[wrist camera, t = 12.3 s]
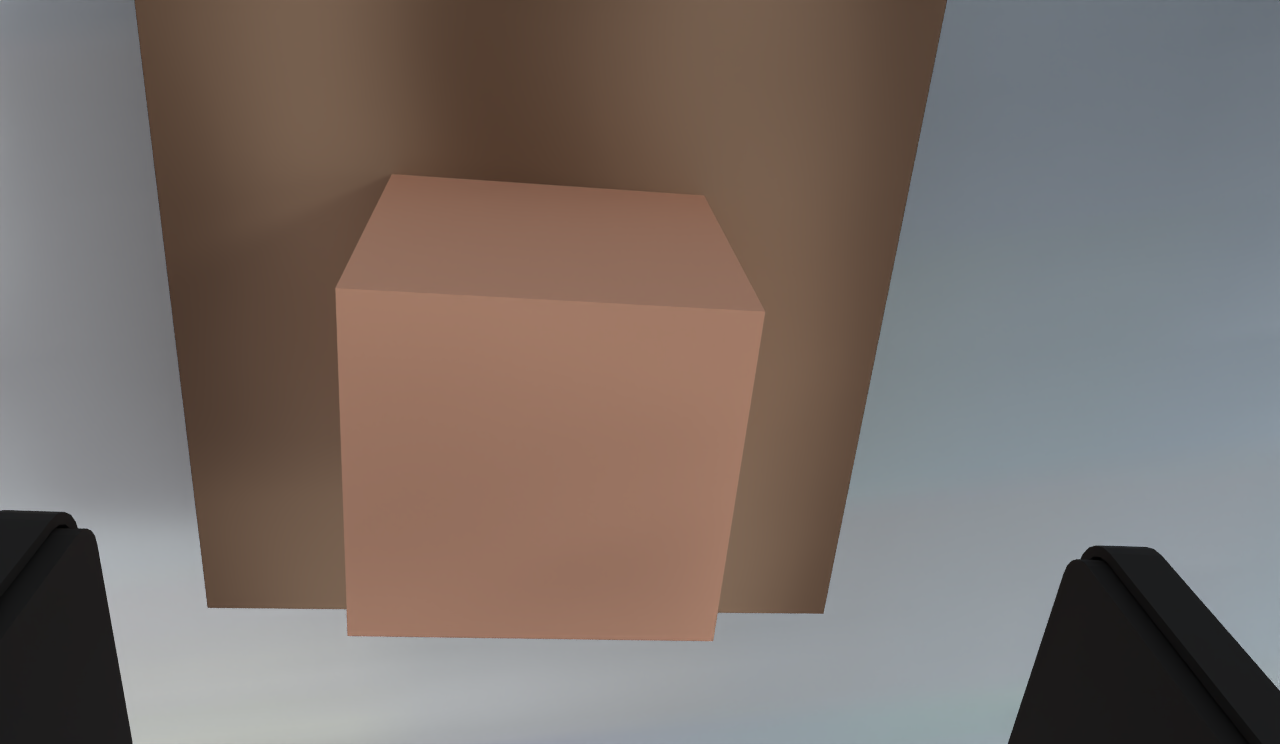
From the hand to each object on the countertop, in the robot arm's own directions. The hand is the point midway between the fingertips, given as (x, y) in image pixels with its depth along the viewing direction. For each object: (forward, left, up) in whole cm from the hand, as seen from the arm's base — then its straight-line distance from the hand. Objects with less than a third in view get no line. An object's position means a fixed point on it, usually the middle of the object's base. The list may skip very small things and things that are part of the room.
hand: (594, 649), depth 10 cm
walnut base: (+1, 0, -12) cm, 12 cm away
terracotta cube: (0, 0, -8) cm, 8 cm away
